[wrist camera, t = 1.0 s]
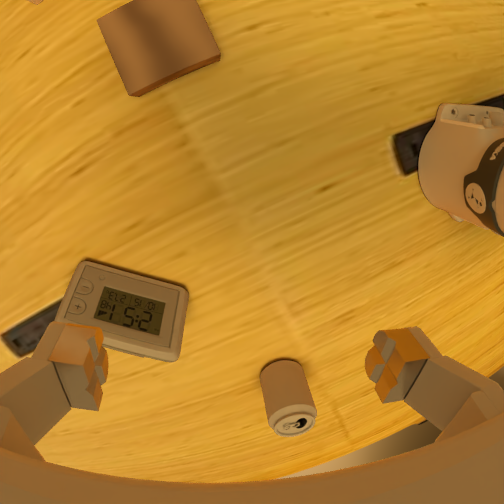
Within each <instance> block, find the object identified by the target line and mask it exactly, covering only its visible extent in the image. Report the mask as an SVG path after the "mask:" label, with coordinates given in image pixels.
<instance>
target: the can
mask: <svg viewBox="0 0 504 504" xmlns="http://www.w3.org/2000/svg"><path fill="white" fill-rule="evenodd" d="M260 382H261V387H262V392H263V397H264V402H265V408H266V413H267V418H268V423H269V426H270V427H271V428H272V429H274V432H275V433H276V434H277V435H280V436H283V437H293V436H298V435H301V434H304V433H306V432H307V431H309V430H310V429H311V428H312V427H313V426H314V424H315V418H316V416H317V410H316V407H315V404H314V401H313V398H312V395H311V392H310V389H309V386H308V383H307V380H306V377H305V374H304V371H303V369H302V367H301V365H300V364H298V363H297V362H294V361H288V360H281V361H276V362H274V363H272V364H270V365H269V366H267V367H266V368H265V369H264V370H263V371H262V372H261V375H260Z"/></svg>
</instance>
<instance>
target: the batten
mask: <svg viewBox="0 0 504 504" xmlns="http://www.w3.org/2000/svg"><path fill="white" fill-rule="evenodd" d="M28 1H30V2H32V3H34V4H39V3H40V2H42V1H43V0H28Z"/></svg>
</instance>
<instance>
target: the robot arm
mask: <svg viewBox="0 0 504 504" xmlns="http://www.w3.org/2000/svg"><path fill="white" fill-rule="evenodd" d="M451 111H452V112H451ZM418 173H419V180H420V184H421V188H422V190H423V192H424V194H425V196H426V198H427V199H428V200H429V201H430V203H432V204H433V205H434V206H435V207H437V208H439V209H442V210H445V211H447V212H448V213H449V215H450V216H451V217H452V218H453V219H454V220H455V221H458V222H462V221H464V220H466V221H468V222H470V223H472V224H475V225H477V226H479V227H481V228H484V229H491V230H492V231H493V232H494V233H496V234H498V235H501V236H503V237H504V110H503V109H501V108H498V107H491V106H480V105H468V104H453V103H443V104H441V105H440V106H439V109H438V112H437V116H436V120H435V123H434V125H433V126H432V128H431V129H430V131H429V132H428V134H427V135H426V137H425V139H424V141H423V144H422V147H421V150H420V155H419V162H418ZM103 340H104V337H103V332H102V329H101V328H100V327H94V326H86V325H78V324H71V323H63V322H56V321H53V322H51V323H50V324H49V326H48V328H47V329H46V331H45V333H44V335H43V336H42V338H41V340H40V342H39V344H38V346H37V348H36V349H35V351H34V353H33V355H32V357H31V358H29V357H26V358H25V359H23V360H21V361H20V362H18V363H16V364H15V365H13V366H12V367H10V368H8V369H7V370H5V371H4V372H2V373H0V504H504V391H503V390H502V388H501V387H500V386H499V384H498V383H496V382H494V381H493V380H491V379H489V378H487V377H485V376H483V375H481V374H480V373H478V372H476V371H474V370H472V369H470V368H468V367H466V366H465V365H463V364H461V363H459V362H457V361H455V360H453V359H451V358H449V357H448V356H442V355H441V353H440V352H439V351H438V350H437V348H436V347H435V346H434V345H433V343H432V342H431V341H430V340H429V338H428V337H427V336H426V335H425V334H424V332H423V331H422V330H421V329H420V328H418V327H407V328H401V329H391V330H379V331H378V332H377V333H376V334H375V336H374V339H373V343H374V346H373V347H372V348H371V349H370V350H369V351H368V353H367V356H366V358H365V370H366V373H367V375H368V377H369V379H370V380H372V381H373V382H375V383H376V385H375V391H376V392H377V394H378V396H379V398H380V400H381V402H382V404H383V403H389V402H395V401H400V400H404V402H406V403H407V404H408V405H409V406H411V407H412V408H413V409H414V410H416V411H417V412H418V413H419V414H421V415H422V416H423V417H425V418H426V419H427V420H428V421H430V422H431V423H432V424H434V425H435V426H436V427H437V428H439V429H440V430H441V431H442V433H441V434H440V435H439V437H438V438H437V439H436V440H435V443H433V444H430V445H427V446H425V447H422V448H419V449H416V450H413V451H409V452H406V453H403V454H400V455H397V456H393V457H390V458H387V459H383V460H379V461H375V462H371V463H367V464H363V465H359V466H355V467H350V468H345V469H340V470H336V471H330V472H325V473H320V474H313V475H306V476H300V477H292V478H284V479H275V480H264V481H250V482H230V483H186V482H166V481H153V480H142V479H133V478H125V477H118V476H111V475H105V474H99V473H93V472H88V471H83V470H78V469H73V468H69V467H65V466H61V465H56V464H53V463H49V462H46V461H45V460H44V458H43V457H42V455H41V454H40V453H39V451H38V450H37V449H36V447H35V446H34V445H35V444H36V443H37V442H38V441H39V440H40V439H41V438H42V437H43V436H44V435H45V434H46V433H47V432H48V431H49V430H50V429H51V428H52V427H53V426H54V425H55V424H56V423H57V422H58V421H60V420H61V419H62V418H63V417H64V416H65V415H66V414H67V413H68V412H69V411H70V410H71V407H72V408H79V409H86V410H94V411H99V407H100V403H101V399H102V395H103V392H102V389H101V385H102V384H104V383H105V382H106V379H107V375H108V355H107V351H106V350H105V349H104V348H103V346H102V343H103Z"/></svg>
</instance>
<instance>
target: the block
mask: <svg viewBox="0 0 504 504" xmlns="http://www.w3.org/2000/svg"><path fill="white" fill-rule="evenodd" d="M97 22H98V25H99V27H100V30H101V32H102V34H103V37H104V39H105V42H106V44H107V46H108V49H109V51H110V53H111V56H112V58H113V60H114V63H115V65H116V67H117V70H118V72H119V74H120V77H121V79H122V81H123V83H124V86H125V88H126V90H127V92H128V95H129V96H137V97H140V96H142V95H144V94H146V93H147V92H149V91H151V90H153V89H156V88H158V87H160V86H162V85H164V84H166V83H168V82H170V81H172V80H174V79H177V78H179V77H181V76H183V75H186V74H188V73H190V72H192V71H195V70H197V69H200V68H202V67H204V66H207V65H209V64H212V63H214V62H217V61H219V60H220V55H221V53H220V51H219V49H218V46H217V44H216V42H215V40H214V38H213V35H212V33H211V31H210V29H209V27H208V25H207V22H206V20H205V18H204V16H203V14H202V12H201V10H200V8H199V5H198V3H197V1H196V0H133V1H131V2H129V3H127V4H125V5H123V6H121V7H119V8H117V9H116V10H114V11H112V12H110V13H108V14H106V15H105V16H103V17H101V18H99V19H98V20H97Z"/></svg>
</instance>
